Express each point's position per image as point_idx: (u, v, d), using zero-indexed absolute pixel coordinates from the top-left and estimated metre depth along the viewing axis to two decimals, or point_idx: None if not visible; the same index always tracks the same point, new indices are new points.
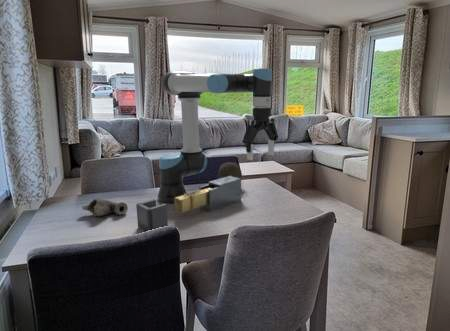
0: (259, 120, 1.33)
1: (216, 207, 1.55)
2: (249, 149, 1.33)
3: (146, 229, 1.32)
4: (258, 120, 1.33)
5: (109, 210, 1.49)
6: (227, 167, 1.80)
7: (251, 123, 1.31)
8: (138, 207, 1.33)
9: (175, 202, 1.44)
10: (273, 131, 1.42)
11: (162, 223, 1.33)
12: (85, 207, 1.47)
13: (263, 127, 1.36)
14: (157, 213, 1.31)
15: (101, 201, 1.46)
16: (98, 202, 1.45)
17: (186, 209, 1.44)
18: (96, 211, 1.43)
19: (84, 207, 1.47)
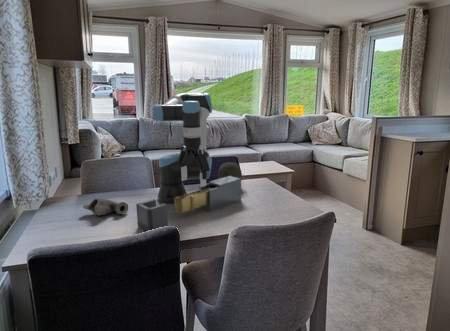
0: (187, 148, 1.45)
1: (216, 207, 1.55)
2: None
3: (146, 229, 1.32)
4: (186, 147, 1.45)
5: (110, 210, 1.49)
6: (227, 167, 1.80)
7: None
8: (138, 207, 1.33)
9: (175, 202, 1.44)
10: None
11: (162, 223, 1.33)
12: (86, 206, 1.48)
13: (190, 155, 1.44)
14: (157, 213, 1.31)
15: (102, 200, 1.47)
16: (99, 201, 1.46)
17: (186, 209, 1.44)
18: (97, 210, 1.44)
19: (85, 206, 1.48)
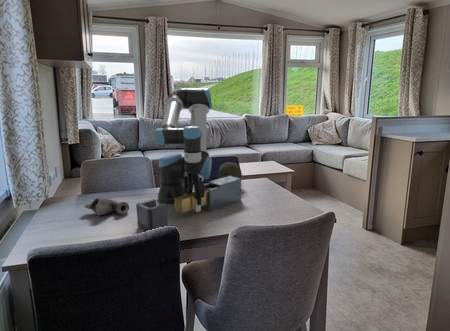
0: (187, 171, 1.48)
1: (216, 207, 1.55)
2: None
3: (146, 229, 1.32)
4: (186, 171, 1.48)
5: (111, 209, 1.50)
6: (227, 167, 1.80)
7: None
8: (138, 207, 1.33)
9: (175, 202, 1.44)
10: None
11: (162, 223, 1.33)
12: (87, 206, 1.49)
13: (191, 179, 1.47)
14: (157, 213, 1.31)
15: (103, 200, 1.48)
16: (100, 201, 1.46)
17: (186, 209, 1.44)
18: (97, 210, 1.44)
19: (86, 206, 1.49)
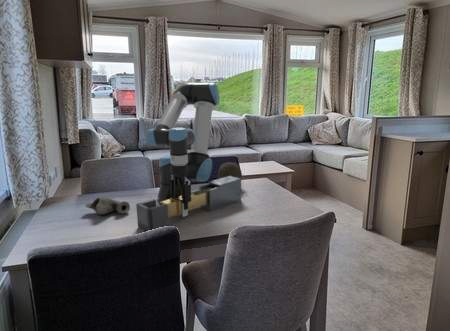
0: (173, 174, 1.43)
1: (216, 207, 1.55)
2: None
3: (146, 229, 1.32)
4: (173, 174, 1.43)
5: (111, 209, 1.50)
6: (227, 167, 1.80)
7: None
8: (138, 207, 1.33)
9: None
10: None
11: (162, 223, 1.33)
12: (88, 205, 1.50)
13: (178, 182, 1.41)
14: (157, 213, 1.31)
15: (104, 200, 1.48)
16: (100, 200, 1.47)
17: (172, 214, 1.39)
18: (98, 209, 1.45)
19: (87, 205, 1.50)
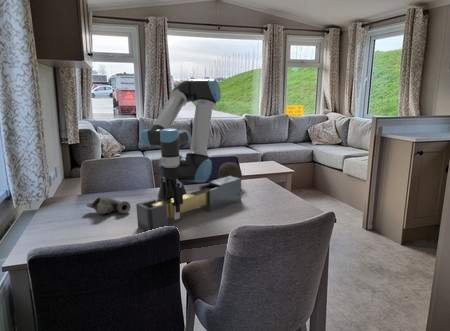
0: (165, 176, 1.40)
1: (216, 207, 1.55)
2: None
3: (146, 229, 1.32)
4: (164, 176, 1.40)
5: (112, 208, 1.51)
6: (227, 167, 1.80)
7: None
8: (138, 207, 1.33)
9: None
10: None
11: (162, 223, 1.33)
12: (89, 204, 1.51)
13: (169, 185, 1.39)
14: (157, 213, 1.31)
15: (104, 199, 1.49)
16: (101, 200, 1.47)
17: None
18: (98, 209, 1.45)
19: (88, 204, 1.50)
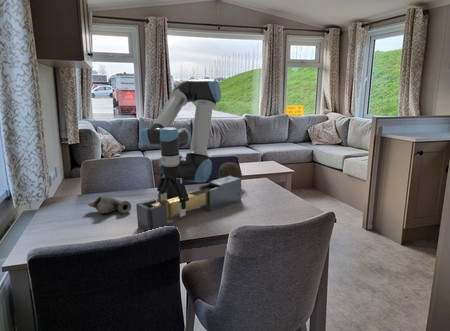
0: (165, 175, 1.40)
1: (216, 207, 1.55)
2: (161, 197, 1.46)
3: (146, 229, 1.32)
4: (165, 175, 1.40)
5: (113, 208, 1.51)
6: (227, 167, 1.80)
7: None
8: (138, 207, 1.33)
9: None
10: None
11: (162, 223, 1.33)
12: (91, 204, 1.51)
13: (169, 183, 1.38)
14: (157, 213, 1.31)
15: (105, 199, 1.49)
16: (102, 200, 1.48)
17: None
18: (99, 208, 1.46)
19: (90, 204, 1.51)
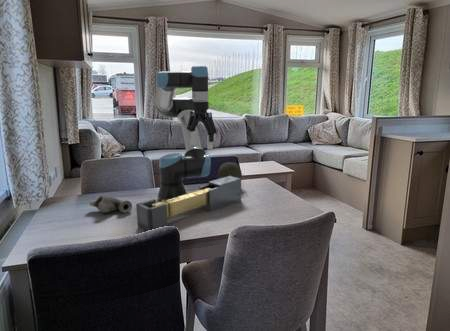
0: (195, 112, 1.51)
1: (216, 207, 1.55)
2: None
3: (146, 229, 1.32)
4: (194, 112, 1.52)
5: (114, 207, 1.52)
6: (227, 167, 1.80)
7: None
8: (138, 207, 1.33)
9: None
10: None
11: (162, 223, 1.33)
12: (92, 203, 1.52)
13: (199, 119, 1.50)
14: (157, 213, 1.31)
15: (106, 198, 1.50)
16: (103, 199, 1.49)
17: None
18: (100, 208, 1.47)
19: (91, 203, 1.52)
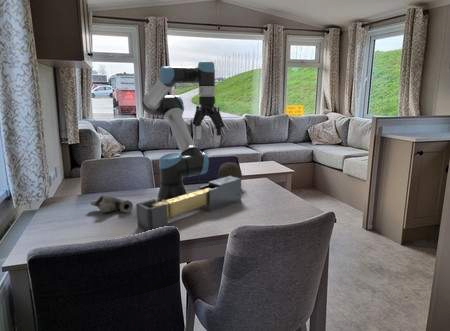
0: (202, 107, 1.55)
1: (216, 207, 1.55)
2: (196, 129, 1.62)
3: (146, 229, 1.32)
4: (201, 106, 1.55)
5: (115, 207, 1.52)
6: (227, 167, 1.80)
7: None
8: (138, 207, 1.33)
9: None
10: None
11: (162, 223, 1.33)
12: (93, 203, 1.53)
13: (205, 113, 1.54)
14: (157, 213, 1.31)
15: (107, 198, 1.50)
16: (104, 199, 1.49)
17: None
18: (101, 207, 1.47)
19: (92, 203, 1.53)
